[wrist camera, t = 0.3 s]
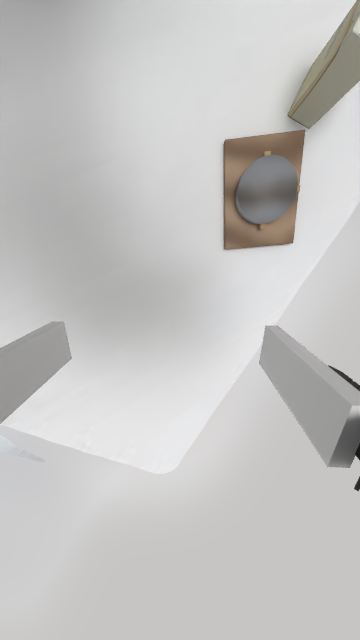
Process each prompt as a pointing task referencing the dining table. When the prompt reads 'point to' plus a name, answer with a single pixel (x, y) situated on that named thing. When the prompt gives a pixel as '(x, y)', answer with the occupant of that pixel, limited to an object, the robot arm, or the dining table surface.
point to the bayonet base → (234, 171)
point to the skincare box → (331, 72)
